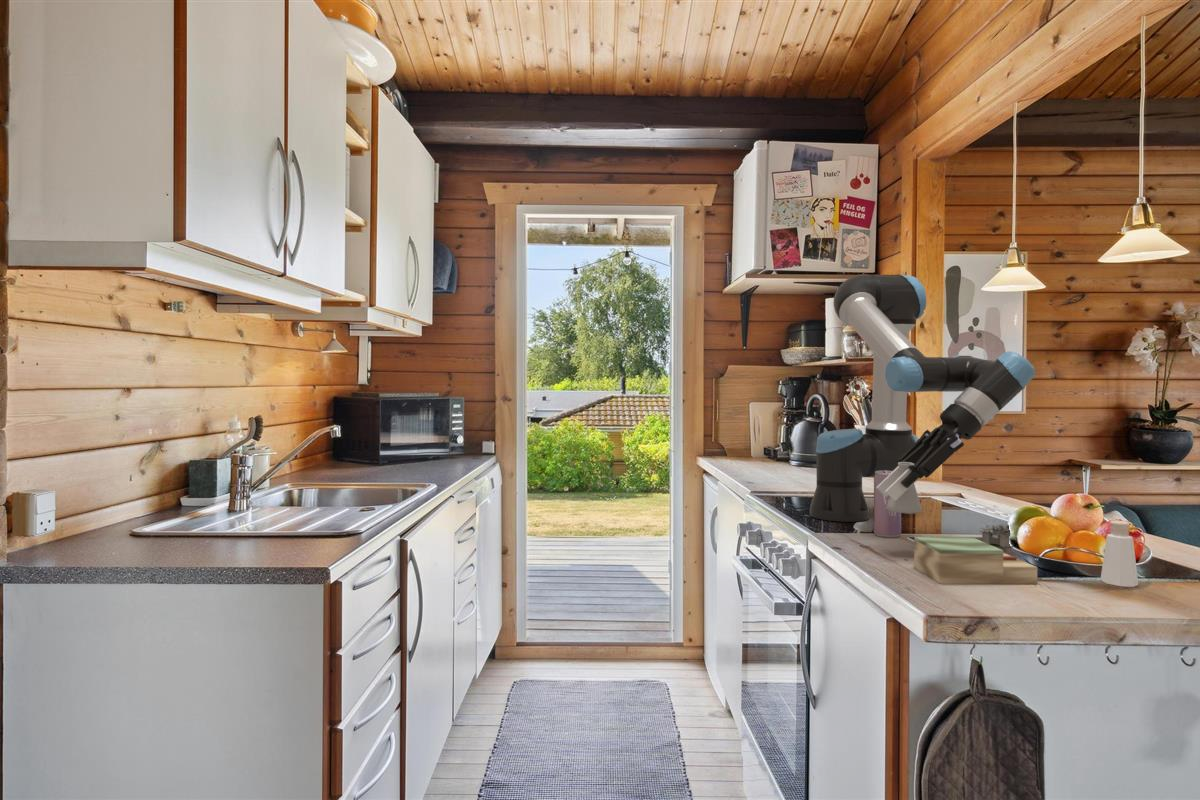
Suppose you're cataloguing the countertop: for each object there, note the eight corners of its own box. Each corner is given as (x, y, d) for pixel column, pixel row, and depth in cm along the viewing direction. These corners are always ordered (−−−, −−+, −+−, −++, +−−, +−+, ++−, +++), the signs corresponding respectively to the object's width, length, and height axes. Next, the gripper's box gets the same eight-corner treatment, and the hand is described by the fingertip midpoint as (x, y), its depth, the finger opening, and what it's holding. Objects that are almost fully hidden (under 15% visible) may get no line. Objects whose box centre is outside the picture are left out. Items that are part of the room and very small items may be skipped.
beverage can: (898, 533, 166) (898, 470, 165) (903, 538, 160) (903, 473, 160) (871, 532, 167) (872, 470, 167) (875, 537, 161) (876, 473, 161)
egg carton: (1009, 549, 150) (1009, 530, 150) (975, 542, 157) (975, 524, 157) (1036, 543, 156) (1036, 525, 156) (1003, 537, 162) (1003, 520, 162)
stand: (914, 567, 135) (914, 536, 135) (1002, 567, 134) (1003, 536, 134) (940, 583, 124) (940, 550, 124) (1037, 584, 123) (1037, 550, 123)
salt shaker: (1120, 588, 121) (1121, 525, 121) (1092, 579, 126) (1093, 519, 126) (1146, 586, 122) (1147, 523, 122) (1117, 577, 127) (1118, 518, 127)
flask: (927, 515, 140) (930, 467, 139) (889, 514, 142) (892, 465, 141) (917, 507, 147) (919, 460, 146) (881, 505, 149) (883, 459, 148)
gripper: (1003, 431, 135) (915, 515, 136) (959, 424, 152) (882, 499, 153) (976, 403, 135) (888, 488, 136) (935, 400, 152) (858, 475, 153)
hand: (885, 493), depth 144 cm, fingers closed on flask, 4 cm apart
